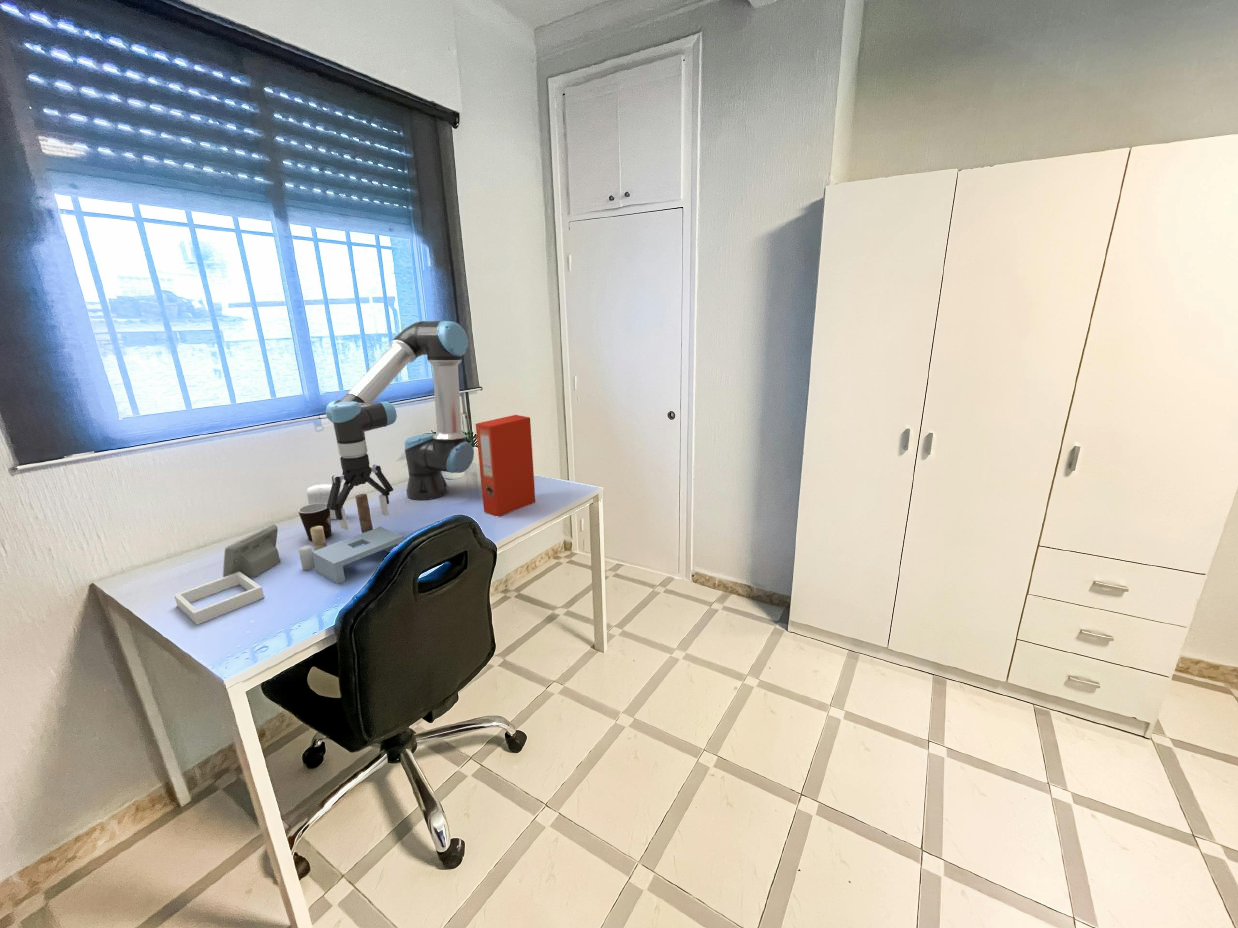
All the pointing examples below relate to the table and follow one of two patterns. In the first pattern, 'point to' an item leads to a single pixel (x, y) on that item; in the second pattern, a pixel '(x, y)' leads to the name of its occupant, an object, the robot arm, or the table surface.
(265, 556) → the digital clock
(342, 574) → the bridge
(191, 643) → the table surface
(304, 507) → the coffee mug
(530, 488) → the file binder
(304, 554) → the short dowel
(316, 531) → the medium dowel
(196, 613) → the frame
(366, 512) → the long dowel
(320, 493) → the photo printer
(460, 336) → the robot arm
